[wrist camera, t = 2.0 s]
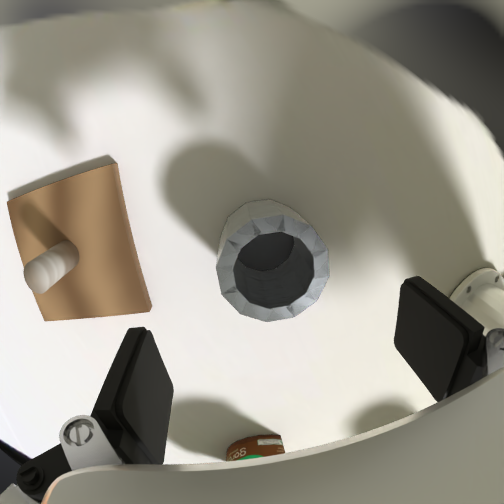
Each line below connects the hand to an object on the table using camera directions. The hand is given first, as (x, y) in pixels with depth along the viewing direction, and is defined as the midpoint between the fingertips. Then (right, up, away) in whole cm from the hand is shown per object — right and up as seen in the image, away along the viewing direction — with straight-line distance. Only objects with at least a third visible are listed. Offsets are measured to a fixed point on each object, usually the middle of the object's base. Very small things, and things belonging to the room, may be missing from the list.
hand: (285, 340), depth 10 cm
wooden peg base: (-16, +3, +11) cm, 20 cm away
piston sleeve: (0, +4, +12) cm, 13 cm away
